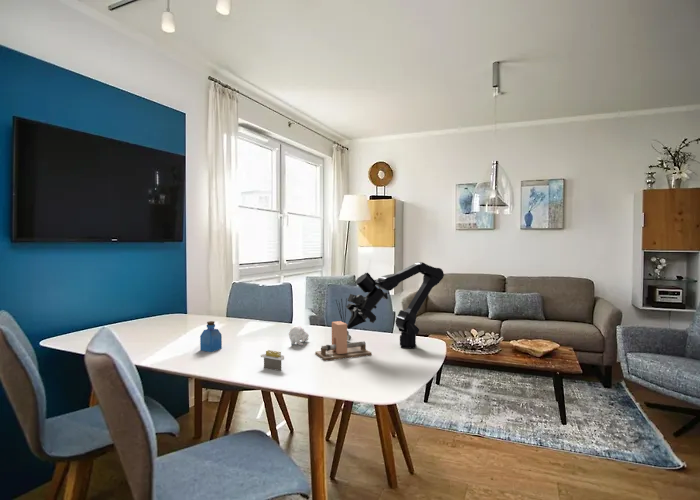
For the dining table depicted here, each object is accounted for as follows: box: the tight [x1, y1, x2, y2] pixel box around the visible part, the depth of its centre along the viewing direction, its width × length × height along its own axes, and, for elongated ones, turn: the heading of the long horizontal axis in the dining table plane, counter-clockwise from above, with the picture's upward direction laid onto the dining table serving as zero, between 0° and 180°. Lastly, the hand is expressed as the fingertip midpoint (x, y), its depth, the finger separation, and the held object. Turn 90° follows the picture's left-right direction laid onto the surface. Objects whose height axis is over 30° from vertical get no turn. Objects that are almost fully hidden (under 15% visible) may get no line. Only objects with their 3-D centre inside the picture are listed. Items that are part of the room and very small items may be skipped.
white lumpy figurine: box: [288, 325, 309, 346], centre depth 193 cm, size 6×8×12 cm
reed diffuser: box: [335, 298, 352, 341], centre depth 197 cm, size 10×7×20 cm
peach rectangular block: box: [331, 320, 348, 354], centre depth 173 cm, size 4×7×12 cm, turn 24°
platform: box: [260, 349, 285, 371], centre depth 155 cm, size 12×18×7 cm, turn 62°
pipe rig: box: [314, 340, 372, 362], centre depth 174 cm, size 20×11×5 cm, turn 114°
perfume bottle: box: [199, 320, 223, 353], centre depth 183 cm, size 6×6×12 cm
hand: (347, 328), depth 174 cm, fingers closed
